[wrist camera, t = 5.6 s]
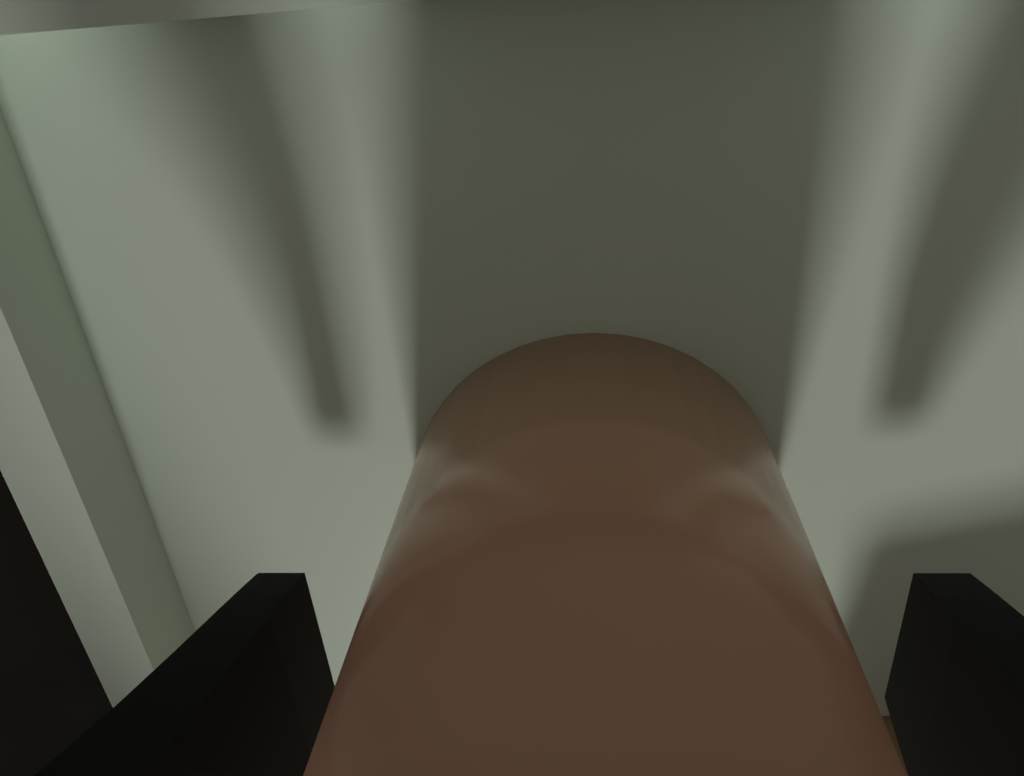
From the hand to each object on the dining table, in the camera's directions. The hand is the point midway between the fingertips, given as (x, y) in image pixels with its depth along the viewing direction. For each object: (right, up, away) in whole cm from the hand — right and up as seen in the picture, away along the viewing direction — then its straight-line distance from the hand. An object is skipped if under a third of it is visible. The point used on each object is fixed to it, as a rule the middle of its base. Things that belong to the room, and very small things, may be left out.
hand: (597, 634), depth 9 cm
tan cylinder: (0, +1, +2) cm, 2 cm away
